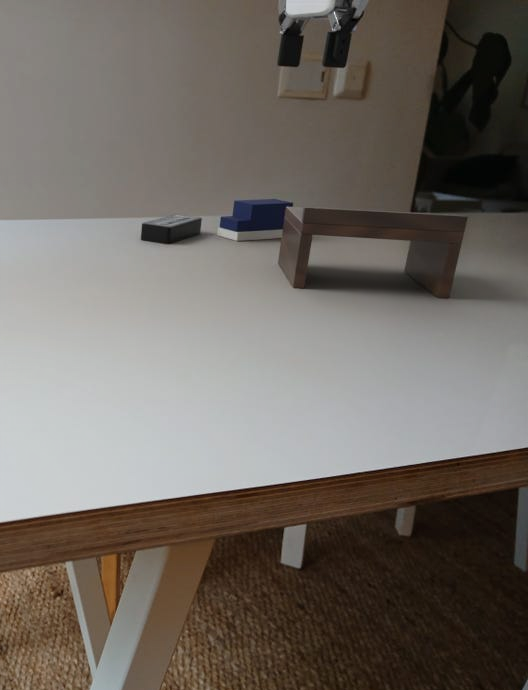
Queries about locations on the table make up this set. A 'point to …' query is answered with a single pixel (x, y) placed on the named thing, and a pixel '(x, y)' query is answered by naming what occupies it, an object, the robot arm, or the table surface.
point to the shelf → (419, 228)
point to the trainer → (254, 220)
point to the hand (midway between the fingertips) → (309, 66)
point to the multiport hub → (171, 228)
